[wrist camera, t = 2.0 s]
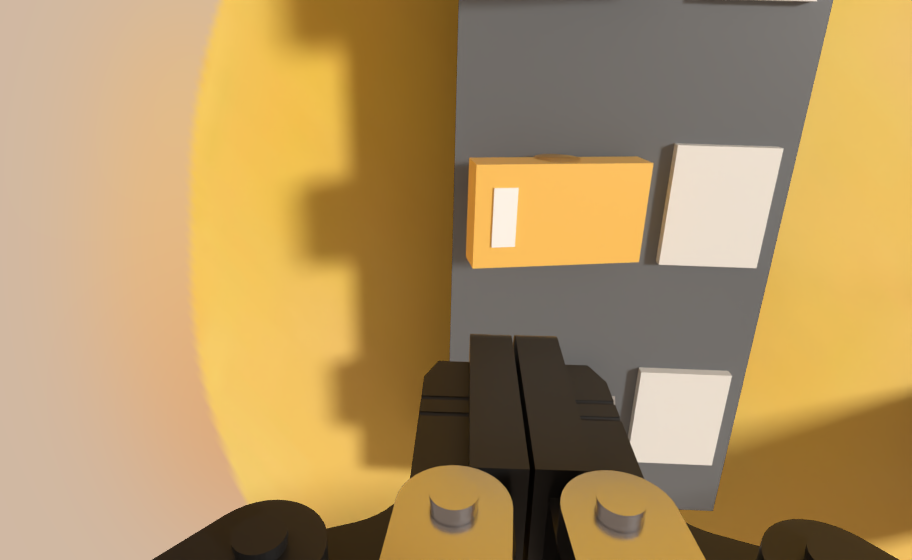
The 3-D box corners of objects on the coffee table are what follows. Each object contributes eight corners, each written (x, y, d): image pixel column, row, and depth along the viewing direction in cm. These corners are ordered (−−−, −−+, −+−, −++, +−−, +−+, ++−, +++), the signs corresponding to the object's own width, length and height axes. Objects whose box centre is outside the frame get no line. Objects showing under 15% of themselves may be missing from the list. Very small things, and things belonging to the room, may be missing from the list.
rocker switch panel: (823, -226, 20) (909, -292, 16) (684, 453, 31) (715, 517, 27) (468, -232, 21) (465, -299, 17) (449, 443, 31) (445, 505, 27)
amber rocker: (629, 153, 22) (654, 163, 20) (617, 245, 23) (639, 262, 21) (465, 154, 21) (477, 165, 19) (462, 251, 22) (473, 269, 20)
